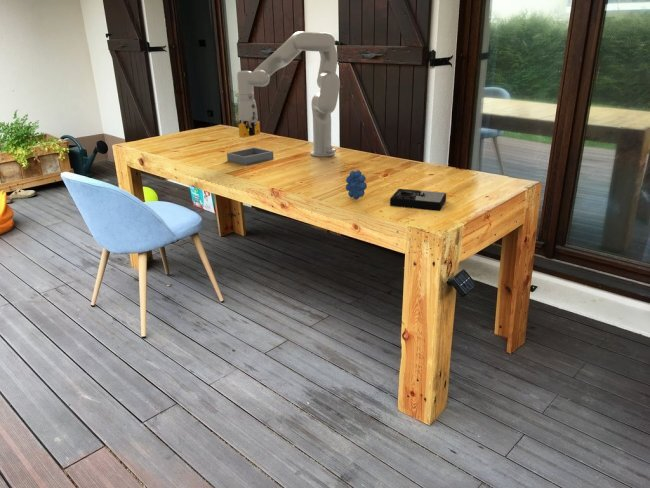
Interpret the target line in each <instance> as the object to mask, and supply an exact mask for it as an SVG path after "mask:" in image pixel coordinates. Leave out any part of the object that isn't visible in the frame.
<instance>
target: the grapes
mask: <svg viewBox="0 0 650 488" xmlns="http://www.w3.org/2000/svg"><path fill="white" fill-rule="evenodd" d="M366 178H367V177H366V176H365V174H362V171H360V170H359V169H358V170H351V171H350V172H349V175H348V176H347V177H346V179H345V182H346V183H347V184H346V185H345V190H346V191H347V192H348V197H350V198H353V199H354V200H358V199H360V198H362V197H363V196H365V190H366V189H367V186H368V185H367V182H366Z"/></svg>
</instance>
